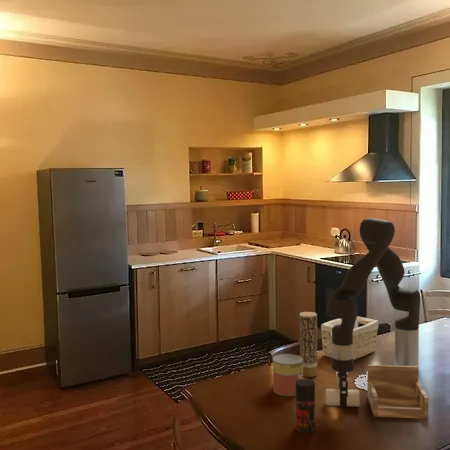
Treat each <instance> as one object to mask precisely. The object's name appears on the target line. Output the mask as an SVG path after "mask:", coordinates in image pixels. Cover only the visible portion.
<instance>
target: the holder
mask: <svg viewBox="0 0 450 450" xmlns="http://www.w3.org/2000/svg"><path fill="white" fill-rule="evenodd" d="M429 398H430V397H429V396H428V395H427V393H426V391H425V390H424V388H423V386H422V384H421V383H420V381H419V365H418V366H396V365H395V364H394V365H393V364H392V365H391V364H390V365H389V364H388V365H387V364H367V400H368V403H369V405H370V409H371V413H372V415H373V418H374V417H375V418H376V417H377V418H378V417H379V418H402V419H425V420H427V419H429V401H430V400H429Z"/></svg>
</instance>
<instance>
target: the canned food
mask: <svg viewBox="0 0 450 450" xmlns="http://www.w3.org/2000/svg"><path fill="white" fill-rule="evenodd" d="M272 377H273V378H272V383H273V384H272V385H273V389H272V391H273V392H274V394H277V395H279V396H283V397H296V381H297V380H299V379H304V376H303V358H302V357H301V356H300V355H298V354H293V353H280V354H277V355H275V356H273V357H272Z"/></svg>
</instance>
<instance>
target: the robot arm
mask: <svg viewBox="0 0 450 450" xmlns="http://www.w3.org/2000/svg"><path fill="white" fill-rule="evenodd" d="M395 228H396V227H395V225H394V223H393V221H389V220H387V219H386V220H385V219H380V218H373V217H369V218H364V219H363V220H362V221H361V223H360V225H359V235H360V236H359V237H360V239H361V241H362V242H363V244H364V246H365V247H366V249H367V250H368V252H367V253H366V254H365V255H364V256H363V257H361V258H359V259H358V260H357V261H356V262H355V263H354V264H353V265H352V266H351V267H350V268H349V269H348V272H347V274H346V275H345V278H344V279H343V281H342V284H341V285H340V286H339V287H338V288H337V289H336V291H335V292H334V293H332V295H331V296H330V297H329V300H328V302H327V305H326V311H327V314H328V315H329V316H331V318H332V317H333V318H336V319H342V322H341V324H339V325H335V326H333V328H332V347H331V357H330V364H331V369H332V370H333V371H334V372H335V373H336V374H335V375H336V385H337V389H339V390H340V394H339V396H340V406H339V407H340V408H348V406H347V397H348V390H349V381H350V379H349V378H350V377H349V376H350V375H349V372H350V373H351V372H352V371H354V366H355V365H354V361H355V360H354V349H353V329H354V326H355V322H356V318H357V316H358V314H359V311H358V310H359V308H358V305H357V304H356V302H355V301H354V300H351V298H356V297H359V296H360V295H361V294H362V292H363V290H364V289H365V285H366V284H367V281H368V279H369V277H370V275H371V273H372V271H373V270H374V268H375V267H376V268H377V271H378V273H379V276H380V277H381V279H382V281H383V283H384V286H385V288H386V291H387V294H388V298H389V302H390V305H391V306H392V308H393V309H394V310H396V311H401V312H407V313H408V315H407V316H405V317H400V318H397V319H395V321H394V365H396V366H418V367H419V357H420V356H419V351H420V349H419V347H420V346H419V344H420V343H419V341H420V339H419V338H420V337H419V335H420V334H419V333H420V331H419V330H420V327H419V326H420V325H419V324H420V315H421V313H420V309H421V294H420V291H419V290H418V289H414V288H405V287H400V286H399V284H400V283H401V282H402V280H403V279H404V277H405V272H406V271H405V267H404V265H403V262H402V259H401V257H399V255H398V254H397V253H396V252H395V251H394V250H393V249H392V248H391V247H390V245H391V243H392V241H393V240H394V238H395V237H394V236H395V232H396V230H395ZM342 391H345V393H342Z"/></svg>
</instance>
